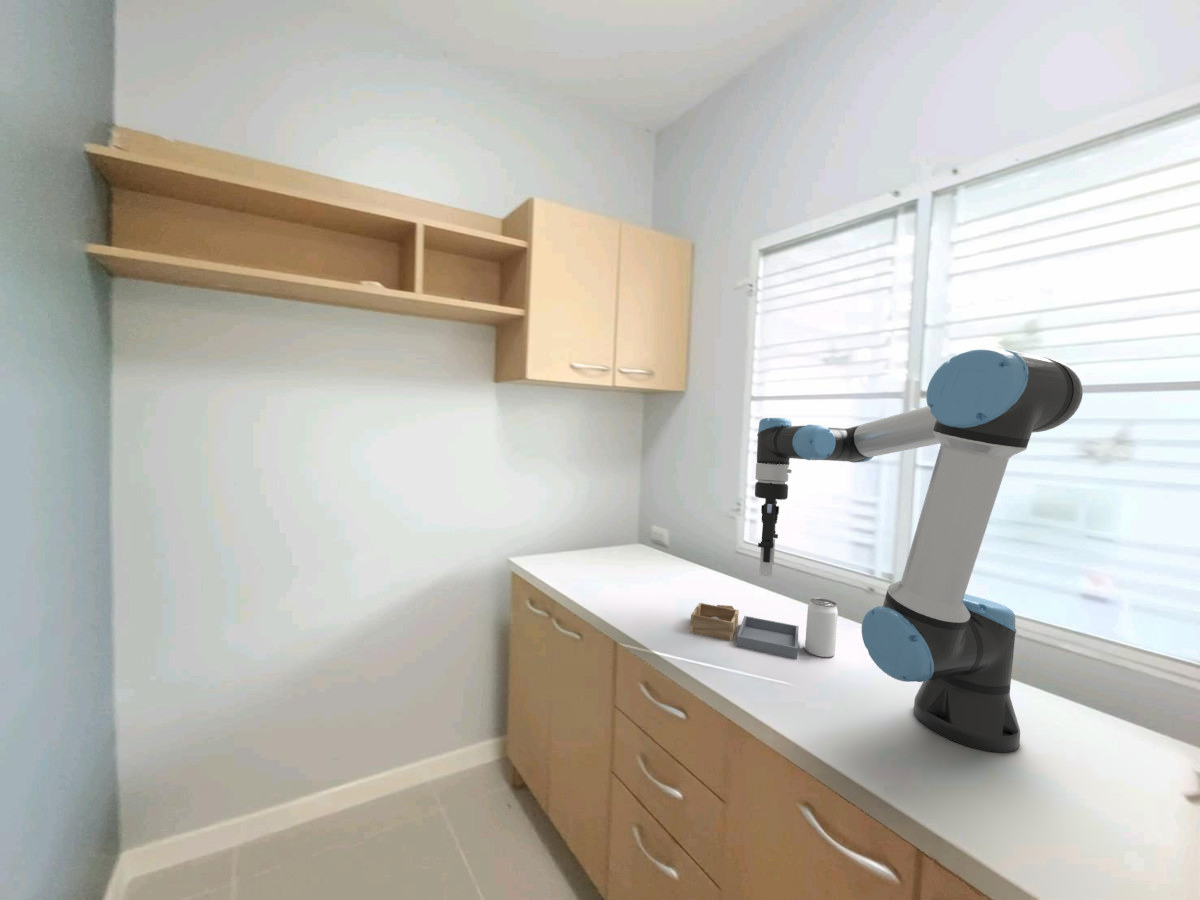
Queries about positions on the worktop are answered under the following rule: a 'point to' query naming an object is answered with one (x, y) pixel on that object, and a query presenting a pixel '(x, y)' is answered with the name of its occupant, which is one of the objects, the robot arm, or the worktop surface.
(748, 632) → the grey tray
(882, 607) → the robot arm
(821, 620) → the can
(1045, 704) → the worktop surface
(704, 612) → the oak bin
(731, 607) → the walnut block
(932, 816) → the worktop surface
